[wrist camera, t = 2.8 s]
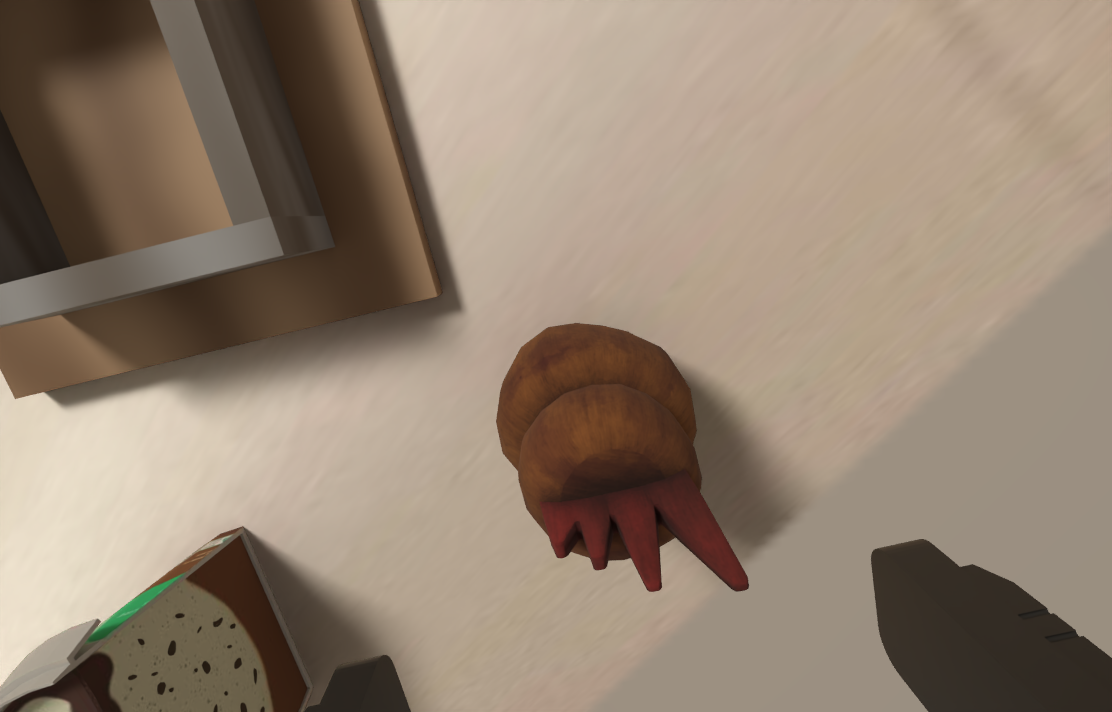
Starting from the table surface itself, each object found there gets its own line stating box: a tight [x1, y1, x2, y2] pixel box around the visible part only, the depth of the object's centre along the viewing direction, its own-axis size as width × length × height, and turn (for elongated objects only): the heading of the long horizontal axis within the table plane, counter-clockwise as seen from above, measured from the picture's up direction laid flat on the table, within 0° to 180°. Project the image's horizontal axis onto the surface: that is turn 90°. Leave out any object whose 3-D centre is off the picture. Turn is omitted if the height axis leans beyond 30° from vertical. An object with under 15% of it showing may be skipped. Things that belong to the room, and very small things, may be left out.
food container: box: [0, 527, 313, 712], centre depth 23 cm, size 12×6×10 cm, turn 14°
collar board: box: [0, 0, 443, 399], centre depth 19 cm, size 18×18×6 cm
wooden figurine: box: [496, 323, 749, 592], centre depth 18 cm, size 7×6×15 cm
